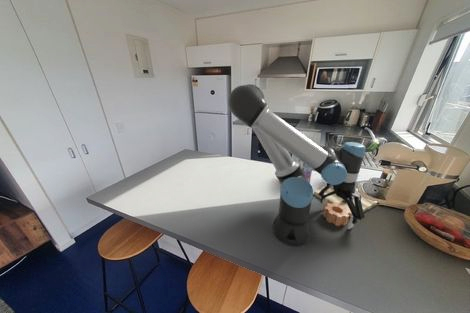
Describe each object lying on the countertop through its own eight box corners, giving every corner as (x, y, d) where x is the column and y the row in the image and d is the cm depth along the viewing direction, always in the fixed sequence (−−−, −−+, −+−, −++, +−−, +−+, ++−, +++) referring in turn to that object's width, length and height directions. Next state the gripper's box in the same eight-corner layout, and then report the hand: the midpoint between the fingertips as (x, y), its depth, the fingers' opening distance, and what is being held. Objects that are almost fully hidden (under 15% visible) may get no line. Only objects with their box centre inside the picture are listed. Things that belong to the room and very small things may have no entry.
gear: (338, 229, 76) (340, 220, 74) (318, 215, 84) (320, 206, 82) (351, 221, 80) (354, 212, 78) (332, 208, 88) (334, 200, 87)
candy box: (309, 186, 107) (314, 162, 101) (299, 186, 107) (303, 162, 101) (302, 175, 120) (305, 153, 113) (293, 175, 120) (296, 153, 114)
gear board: (352, 218, 82) (356, 204, 79) (313, 194, 100) (316, 182, 97) (379, 203, 92) (384, 190, 89) (340, 183, 110) (343, 172, 107)
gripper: (385, 190, 65) (369, 233, 74) (325, 165, 86) (318, 201, 94) (374, 196, 62) (358, 240, 70) (315, 168, 83) (308, 205, 91)
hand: (335, 218), depth 82 cm, fingers open, 13 cm apart
